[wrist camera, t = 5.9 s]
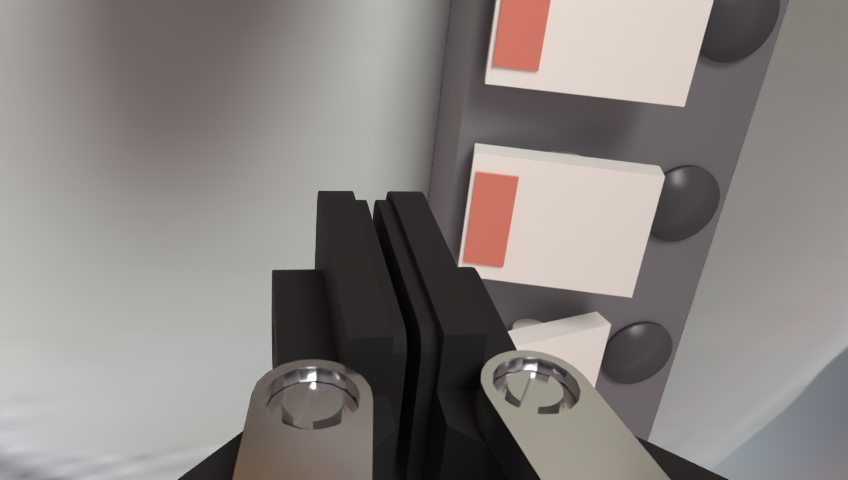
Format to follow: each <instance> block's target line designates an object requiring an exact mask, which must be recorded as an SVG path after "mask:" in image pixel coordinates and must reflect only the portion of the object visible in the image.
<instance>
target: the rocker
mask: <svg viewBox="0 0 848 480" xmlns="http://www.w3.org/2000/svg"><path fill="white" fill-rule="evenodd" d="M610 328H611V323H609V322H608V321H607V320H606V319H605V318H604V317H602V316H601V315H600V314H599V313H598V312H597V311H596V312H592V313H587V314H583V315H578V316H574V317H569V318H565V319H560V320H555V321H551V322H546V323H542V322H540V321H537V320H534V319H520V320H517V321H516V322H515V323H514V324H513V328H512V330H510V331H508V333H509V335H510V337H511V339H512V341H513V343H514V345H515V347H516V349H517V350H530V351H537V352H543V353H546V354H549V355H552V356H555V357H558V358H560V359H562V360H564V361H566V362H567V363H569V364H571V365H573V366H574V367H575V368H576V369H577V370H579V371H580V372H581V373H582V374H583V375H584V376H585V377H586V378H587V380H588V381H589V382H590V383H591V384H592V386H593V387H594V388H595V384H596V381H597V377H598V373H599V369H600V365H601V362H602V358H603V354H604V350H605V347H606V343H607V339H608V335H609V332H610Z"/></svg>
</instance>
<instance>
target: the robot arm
mask: <svg viewBox="0 0 848 480" xmlns="http://www.w3.org/2000/svg"><path fill="white" fill-rule="evenodd" d="M272 363H273V370H271V371H269V372H267V373H266V374H265V375H264V376H263V377H262V378H261V379H260V380H259V381H258V382H257V384H256V386H255V388H254V390H253V392H252V395H251V399H250V404H249V408H248V413H247V417H246V421H245V426H244V430H243V432H241V433H240V434H239V435H237V436H236V437H235V438H233V439H232V440H230V441H229V442H228V443H226V444H225V445H224V446H222V447H221V448H220V449H218V450H217V451H216V452H214V453H213V454H212V455H210V456H209V457H207V458H206V459H205V460H203V461H202V462H201V463H199V464H198V465H197V466H195V467H194V468H193V469H191V470H190V471H189V472H187V473H186V474H184V475H183V476H182V477H180V478H179V479H178V480H728V479H726V478H724V477H722V476H720V475H717V474H715V473H713V472H711V471H709V470H707V469H705V468H703V467H700V466H698V465H696V464H694V463H692V462H690V461H688V460H686V459H683V458H681V457H679V456H677V455H675V454H673V453H671V452H669V451H667V450H664V449H662V448H660V447H658V446H656V445H654V444H652V443H650V442H647V441H645V440H643V439H641V438H639V437H637V436H635V435H633V434H632V433H631V431H630V430H629V429H628V428H627V427H626V425H625V424H624V423H623V422H622V421H621V419H620V418H619V417H618V416H617V415H616V413H615V412H614V411H613V410H612V408H611V407H610V406H609V405H608V404H607V402H606V401H605V400H604V399H603V398H602V396H601V395H600V394H599V393H598V392H597V390H596V389H595V388H594V387H593V386H592V384H591V383H590V382H589V381H588V380H587V378H586V377H585V376H584V375H583V374H582V373H581V372H580V371H579V370H577V369H576V368H575V367H574V366H573V365H571V364H569V363H567V362H566V361H564V360H562V359H560V358H558V357H555V356H552V355H549V354H546V353H543V352H537V351H530V350H517V349H516V347H515V345H514V343H513V341H512V339H511V337H510V335H509V333H508V331H507V329H506V327H505V325H504V323H503V321H502V319H501V317H500V315H499V313H498V311H497V309H496V307H495V305H494V303H493V301H492V299H491V297H490V295H489V293H488V291H487V289H486V287H485V285H484V283H483V281H482V279H481V277H480V275H479V273H478V272H477V270H476V269H475V268H474V267H457V265H456V263H455V260H454V258H453V256H452V254H451V252H450V250H449V248H448V245H447V243H446V241H445V239H444V237H443V235H442V233H441V230H440V228H439V226H438V224H437V222H436V220H435V217H434V215H433V213H432V211H431V209H430V207H429V205H428V202H427V200H426V198H425V196H424V194H423V193H422V192H396V191H390V192H388V193H387V196H386V200H376V201H375V204H374V211H373V220H372V217H371V214H370V210H369V207H368V204H367V201H366V200H356V199H355V196H354V193H353V191H319V192H318V198H317V221H316V249H315V269H312V270H272Z"/></svg>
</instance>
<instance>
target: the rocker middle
mask: <svg viewBox="0 0 848 480" xmlns="http://www.w3.org/2000/svg"><path fill="white" fill-rule="evenodd" d="M664 179H665V175H664V174H663V172H662V170H661V168H660V166H656V165H648V164H640V163H632V162H624V161H616V160H608V159H600V158H592V157H584V156H580V155H578V154H575V153H571V152H566V151H551V152H544V151H536V150H528V149H520V148H511V147H503V146H495V145H487V144H479V143H475V146H474V153H473V160H472V167H471V175H470V182H469V189H468V196H467V203H466V210H465V217H464V224H463V231H462V238H461V246H460V253H459V260H458V267H474V268H475V269H476V270H477V272H478V273H479V275H480V277H481V278H482V279H490V280H498V281H506V282H513V283H521V284H529V285H537V286H544V287H552V288H560V289H568V290H575V291H583V292H591V293H599V294H606V295H614V296H622V297H630V298H632V295H633V292H634V288H635V284H636V281H637V277H638V274H639V270H640V266H641V263H642V259H643V255H644V252H645V248H646V245H647V241H648V237H649V234H650V230H651V226H652V223H653V219H654V215H655V212H656V208H657V205H658V201H659V197H660V194H661V190H662V186H663V183H664Z"/></svg>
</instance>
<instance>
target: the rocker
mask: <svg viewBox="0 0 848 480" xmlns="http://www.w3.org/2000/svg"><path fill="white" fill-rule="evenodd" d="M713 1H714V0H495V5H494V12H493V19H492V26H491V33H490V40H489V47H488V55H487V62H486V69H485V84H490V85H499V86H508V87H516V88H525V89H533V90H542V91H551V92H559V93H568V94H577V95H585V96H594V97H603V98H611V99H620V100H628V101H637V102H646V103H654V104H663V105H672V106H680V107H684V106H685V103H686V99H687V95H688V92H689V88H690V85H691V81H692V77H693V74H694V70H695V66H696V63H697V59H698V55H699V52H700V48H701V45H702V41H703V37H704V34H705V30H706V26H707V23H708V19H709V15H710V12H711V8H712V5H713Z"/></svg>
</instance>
